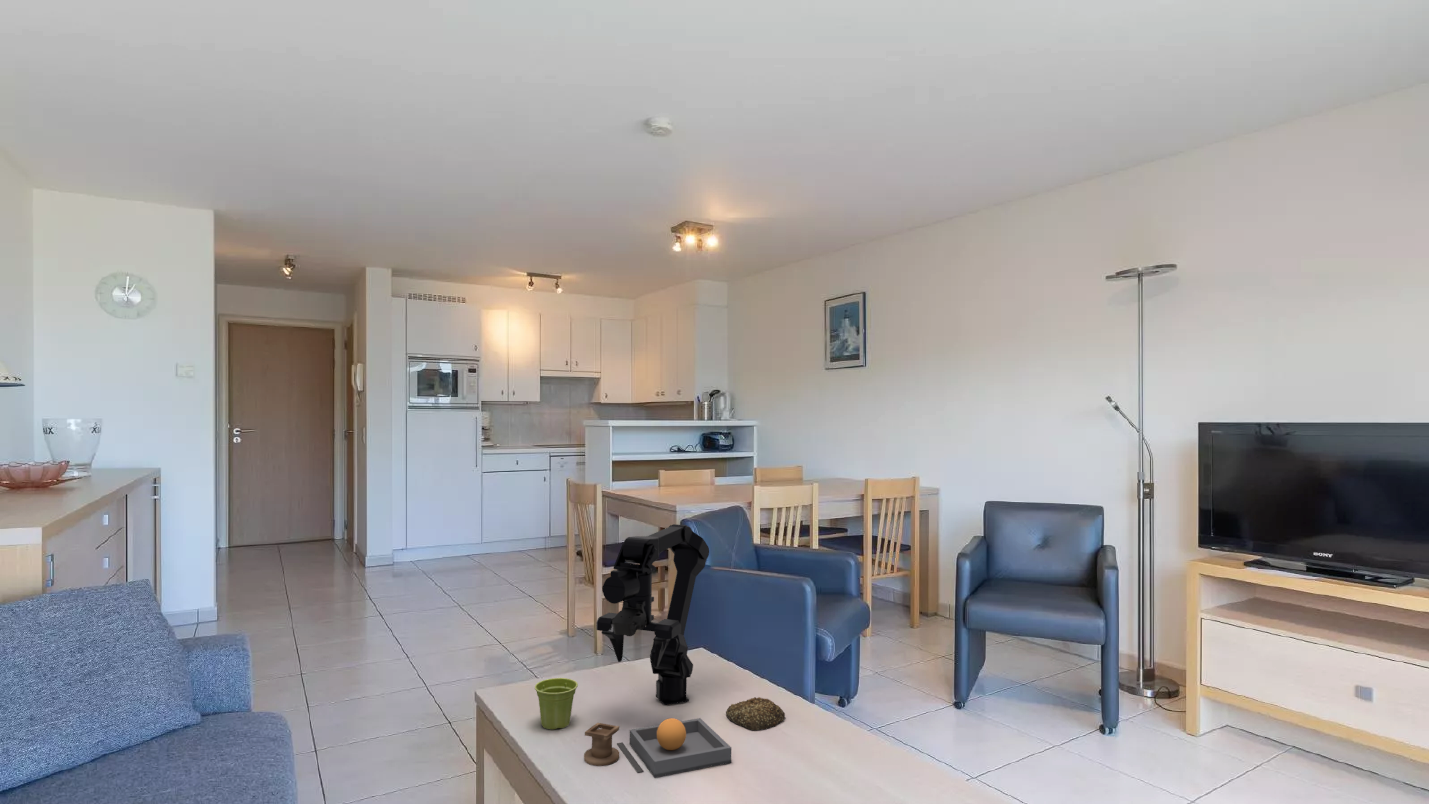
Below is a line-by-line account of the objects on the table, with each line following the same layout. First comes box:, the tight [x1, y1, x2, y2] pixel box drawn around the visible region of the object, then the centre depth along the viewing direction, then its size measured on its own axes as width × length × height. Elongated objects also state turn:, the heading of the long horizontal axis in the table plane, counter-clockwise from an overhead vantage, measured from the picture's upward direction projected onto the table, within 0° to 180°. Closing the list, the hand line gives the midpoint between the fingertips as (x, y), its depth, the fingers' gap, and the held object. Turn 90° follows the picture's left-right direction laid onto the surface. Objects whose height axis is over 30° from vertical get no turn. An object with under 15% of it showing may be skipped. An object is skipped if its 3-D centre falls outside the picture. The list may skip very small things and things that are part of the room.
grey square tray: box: [628, 717, 732, 779], centre depth 153 cm, size 16×16×3 cm
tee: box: [583, 722, 620, 767], centre depth 151 cm, size 7×7×6 cm
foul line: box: [616, 741, 644, 774], centre depth 151 cm, size 1×14×1 cm, turn 24°
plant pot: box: [534, 677, 579, 730], centre depth 167 cm, size 9×9×9 cm
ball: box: [657, 717, 686, 750], centre depth 154 cm, size 6×6×6 cm
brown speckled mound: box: [725, 696, 786, 731], centre depth 172 cm, size 13×12×5 cm
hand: (638, 664), depth 169 cm, fingers open, 9 cm apart
